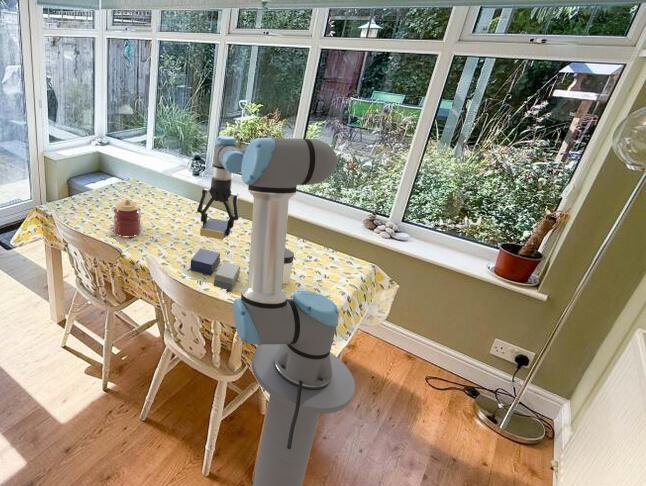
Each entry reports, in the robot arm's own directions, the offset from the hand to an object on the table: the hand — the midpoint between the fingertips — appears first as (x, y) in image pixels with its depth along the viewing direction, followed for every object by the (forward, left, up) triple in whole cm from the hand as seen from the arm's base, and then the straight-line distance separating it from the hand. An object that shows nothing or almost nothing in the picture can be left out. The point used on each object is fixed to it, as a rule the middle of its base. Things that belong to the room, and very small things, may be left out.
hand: (215, 232), depth 162 cm
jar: (+7, -26, -17) cm, 32 cm away
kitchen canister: (+15, +47, -17) cm, 53 cm away
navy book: (0, 0, 0) cm, 0 cm away
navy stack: (+2, +3, -17) cm, 18 cm away
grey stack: (-5, -8, -17) cm, 20 cm away
